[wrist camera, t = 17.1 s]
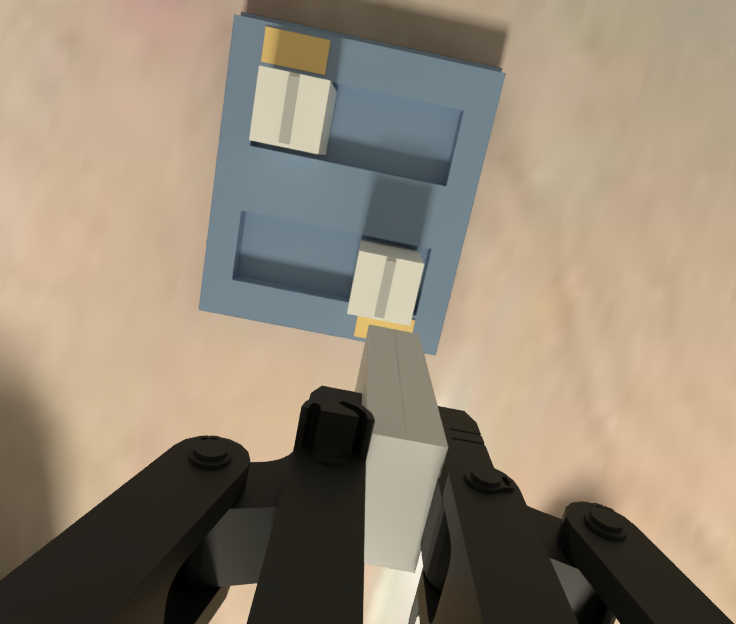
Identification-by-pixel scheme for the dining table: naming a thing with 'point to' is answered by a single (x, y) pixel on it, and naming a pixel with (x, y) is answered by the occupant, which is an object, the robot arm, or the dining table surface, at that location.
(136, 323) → the dining table surface
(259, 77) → the tab
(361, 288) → the tab
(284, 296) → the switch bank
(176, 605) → the robot arm
